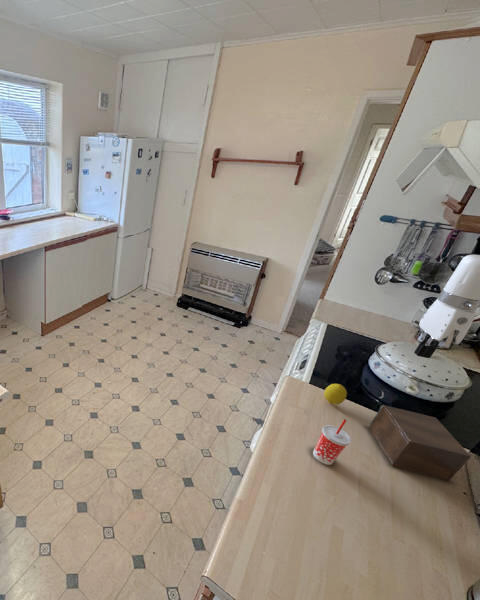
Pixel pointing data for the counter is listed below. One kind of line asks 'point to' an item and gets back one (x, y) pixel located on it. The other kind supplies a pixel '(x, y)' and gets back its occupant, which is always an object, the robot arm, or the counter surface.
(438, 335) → the robot arm
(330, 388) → the lemon
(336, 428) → the beverage cup
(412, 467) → the cabinet
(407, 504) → the counter surface
